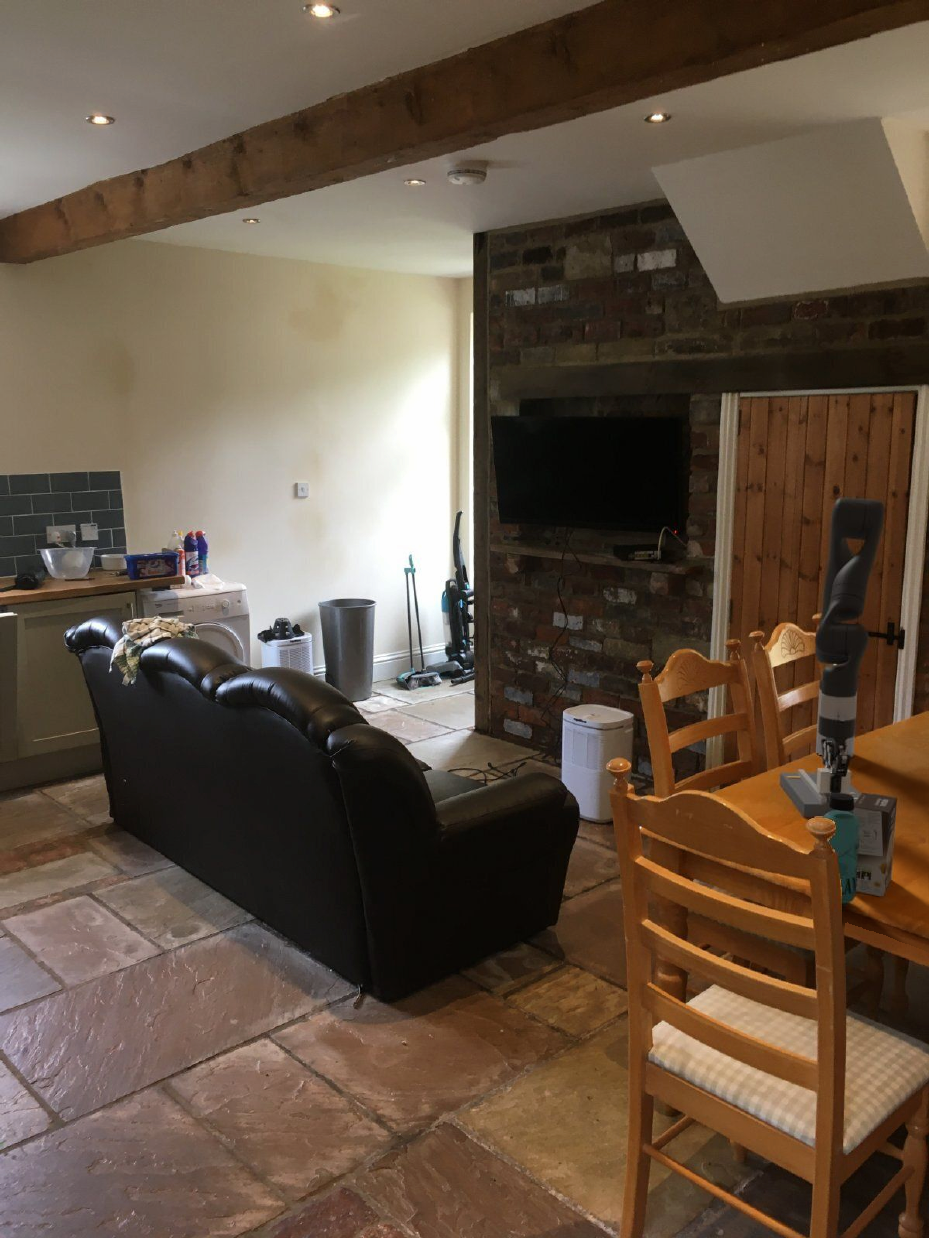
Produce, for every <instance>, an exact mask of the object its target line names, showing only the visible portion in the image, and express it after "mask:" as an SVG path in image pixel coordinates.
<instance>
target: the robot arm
mask: <svg viewBox="0 0 929 1238" xmlns="http://www.w3.org/2000/svg"><path fill="white" fill-rule="evenodd" d="M830 518H831V519H830V532H829V533H830V536H829V552H828V561H827V566H826V570H825V571H826V572H825V577H824V584H823V585H824V586H823V592H822V593H823V595H822V596H823V597H822V606H821V607H822V609H821V615H820V621H819V625H818V628H817V630H816V633H815V636H814V644H815V647H814V651H815V657H816V659H817V661H818V662H820V663H822V664H825V665H826V664H827V666H825V667H824V669H823V671H822V675H821V676H822V677H821V678H820V679H819V687H818V704H817V705H818V706H817V723H816V725H817V727H816V743H815V745H816V746H815V753H816V754H817V753H820V754H817V755H819V756H820V755H822V756H821V757H822V764H823V766H824V768H831V773H830V775H831V776H830V792H831V793H840V792H841V781H842V777H846V774H847V771H848V770H849V767H850V763H851V762H850V761H851V758H853V756H854V753H855V752H854V749H855V737H856V724H857V723H856V722H857V720H856V719H857V698H858V686H859V685H858V681H859V669H860V665H861V664H862V660H863V658H864V654H865V653H866V649H867V647H868V644H869V639H870V638H869V637H870V636H869V632H868V630H867V629H866V627H865V626H864V625H861V624H857V623H846V622H850V621H855V620H858V619H859V618H861V617H862V616H863V613H864V610H865V605H866V604H865V603H866V597H867V590H868V589H867V588H868V584H869V579H870V575H871V571H872V569H873V568H872V567H873V565H874V562H875V559H876V555H877V552H878V547H879V544H880V540H881V536H882V532H883V526H884V521H885V505H884V503H883V502H882V501H881V500H876V499H869V498H868V499H866V498H858V497H857V498H855V497H840V498H838V499H837V500H836V501H835V502H834V505H833V508H832V510H831V517H830ZM847 539H850V540H860V541H863V545H862V546H861V547H860V549H859V550H858V552H857V553H856V554H855V555H854V553H853V552H852V550H851V549H850V547H849V544H848V541H847ZM844 622H845V623H844ZM838 770H840V771H838Z"/></svg>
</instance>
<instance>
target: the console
mask: <svg viewBox="0 0 929 1238" xmlns="http://www.w3.org/2000/svg"><path fill="white" fill-rule="evenodd" d="M779 775H780V776H779V786H780V787H781V788H782V790H783V791H784V792H785V794H786V795H787V796H788V798H789V800H791V802H792V803H793V805H794V806H795V807H796V808H797V810H798V812H799V813H800V814H801V815H802V817H803V818H816V817H815V816H824V815H825V814H827V813H828V812H830V811H834V810H835V809H832V808H830V807H829V802H830V801H828V800H827V797H826V796H825V795H824V793H820V792H819V791H818V790H817V772H806V771H805V770H804V769H800V768H799V769H797V772H780V774H779ZM845 794H849V795H851V796H853V797H854V804H855V802H856V801H857V799H858V798H859V796H860V795H861V794H862V793H860V792H859V791H858V790H857V789H856V788H855V787H854V785H852V784H851V783H850V793H845ZM847 812H850V813H852V814H853V810H851V811H847Z"/></svg>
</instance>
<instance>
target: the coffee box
mask: <svg viewBox="0 0 929 1238" xmlns="http://www.w3.org/2000/svg"><path fill="white" fill-rule="evenodd" d="M860 794H861V795H860V796H859V798H858V799H857V801H856V802H855V804H854V810H853V815H854V816H855V817H856V818H857V819H858V820H859V822H860V825H859V840H858V842H859V845H858V846H859V847H858V849H859V850H858V851H859V853H858V856H857V860H858V861H857V865H858V866H857V867H858V869H857V872H856V873H857V882H856V883H857V886H856V891H855V893H863V894H866V895H871V896H877V897H884V895H885V893H886V892H887V888H888V886H890V882H891V881H892V876H893V860H894V859H893V858H894V846H895V844H894V843H895V831H896V820H897V819H896V818H897V816H896V815H897V804H898V803H897V802H898V797H894V796H889V795H883V794H876V793H866V792H861V793H860Z"/></svg>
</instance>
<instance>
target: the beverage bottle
mask: <svg viewBox="0 0 929 1238" xmlns="http://www.w3.org/2000/svg"><path fill="white" fill-rule="evenodd" d="M829 807H830V808H832V809H835V810H834V811H830V812H828V813H827V814H825V815H824V816H823V817H821V819H822V818H828V819H830V820H832V821H834V822H835V825H836V832H835V835H833V836H832V838H830V840H829V842H830V845H831V846H832V849H834V850H835V852H837V853H838V866H839V873H840V879H841V887H842V903H841V904H848V903H850V902H853V901H854V900H855V897H856V895H857V892H856V886H857V883H856V882H857V873H856V872H857V869H858V867H857V866H858V865H857V861H858V860H857V856H858V853H859V851H858V850H859V849H858V847H859V846H858V845H859V842H858V840H859V825H860V822H859V820H858V819H857V818H856V817H855V816H854V815H853V814H852V813H850V812H847V811H851V810H854V797H853V796H851V795H849V794H845V793H834V794H831V796H830V802H829Z"/></svg>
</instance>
